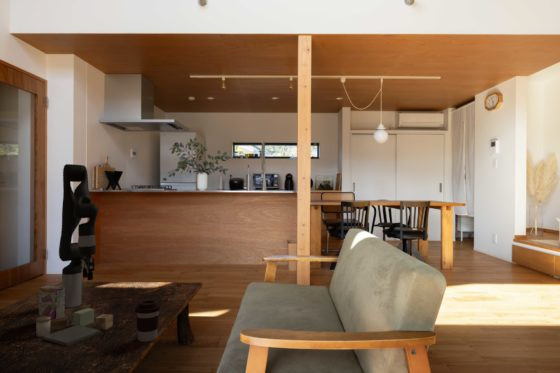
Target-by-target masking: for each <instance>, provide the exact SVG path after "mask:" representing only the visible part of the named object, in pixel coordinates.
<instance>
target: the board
mask: <svg viewBox="0 0 560 373" xmlns="http://www.w3.org/2000/svg"><path fill="white" fill-rule="evenodd" d="M101 331H102V329H95V328H92V327H87V326H80V325H75V326H74V325H72V326H70V327H67V328H65V329H61V330H57V331H56V332H55V331H54V332H52V333H50V334H49V335H46V336H42V338H43V341H46V342H47V341H48V342H52V343H55V344H58V345H61V346H66V347H69V346H71V345H73V344H77V343H79V342H82V341H85V340H86V339H89V338H92V337H94V336H98V335H99V334H101Z"/></svg>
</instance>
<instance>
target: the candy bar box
mask: <svg viewBox="0 0 560 373" xmlns="http://www.w3.org/2000/svg"><path fill="white" fill-rule="evenodd" d="M65 309H66V308H65V288H62V286H61V287H60V286H52V285H46V286H41V287H38V317H41V316H51V320H53V319H58V318H63V317H65V318H66V314H65V313H66V310H65Z"/></svg>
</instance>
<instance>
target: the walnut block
mask: <svg viewBox="0 0 560 373" xmlns="http://www.w3.org/2000/svg"><path fill="white" fill-rule="evenodd" d="M67 328H68V319H67V318H66V316H65V317H63V318H58V319H53V320H51V321H50V333H51V332H52V333H53V332H55V331H56V332H57V331H61V330H64V329H67Z"/></svg>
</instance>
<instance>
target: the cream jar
mask: <svg viewBox="0 0 560 373" xmlns="http://www.w3.org/2000/svg"><path fill="white" fill-rule="evenodd" d="M50 321H51V316H41V317H39V316H37V317H36V318H35V322H36V326H35V327H36V330H35V332H36V334H35V335H36V337H38V338H40V337H41V338H43V336H46V335H49V334H51V331H50Z"/></svg>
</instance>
